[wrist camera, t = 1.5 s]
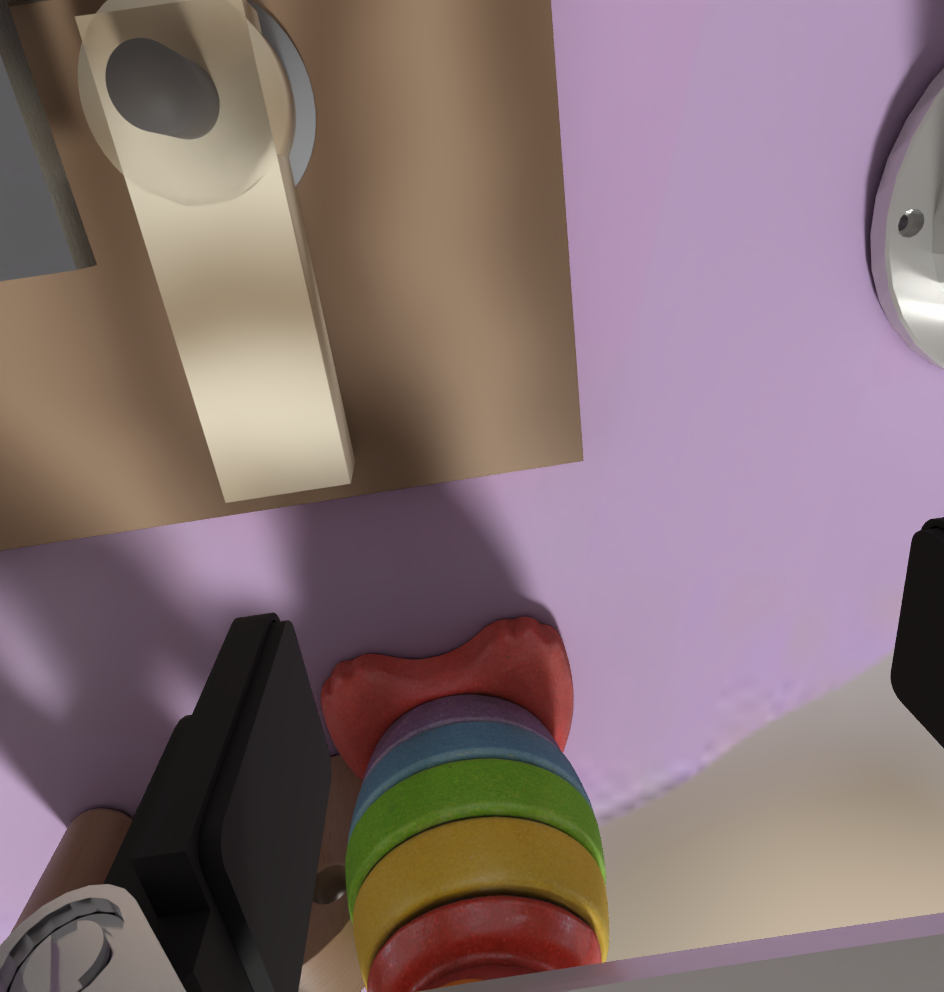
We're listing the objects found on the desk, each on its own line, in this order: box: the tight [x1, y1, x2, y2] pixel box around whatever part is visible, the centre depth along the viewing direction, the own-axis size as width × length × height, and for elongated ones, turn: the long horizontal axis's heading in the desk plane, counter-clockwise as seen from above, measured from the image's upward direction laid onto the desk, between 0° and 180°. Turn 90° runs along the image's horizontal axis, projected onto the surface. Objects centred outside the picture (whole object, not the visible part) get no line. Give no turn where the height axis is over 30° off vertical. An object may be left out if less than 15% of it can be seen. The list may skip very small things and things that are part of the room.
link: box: [75, 0, 355, 503], centre depth 19 cm, size 14×5×4 cm, turn 8°
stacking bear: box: [321, 617, 609, 992], centre depth 23 cm, size 11×10×18 cm
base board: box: [0, 0, 583, 551], centre depth 22 cm, size 26×18×2 cm
